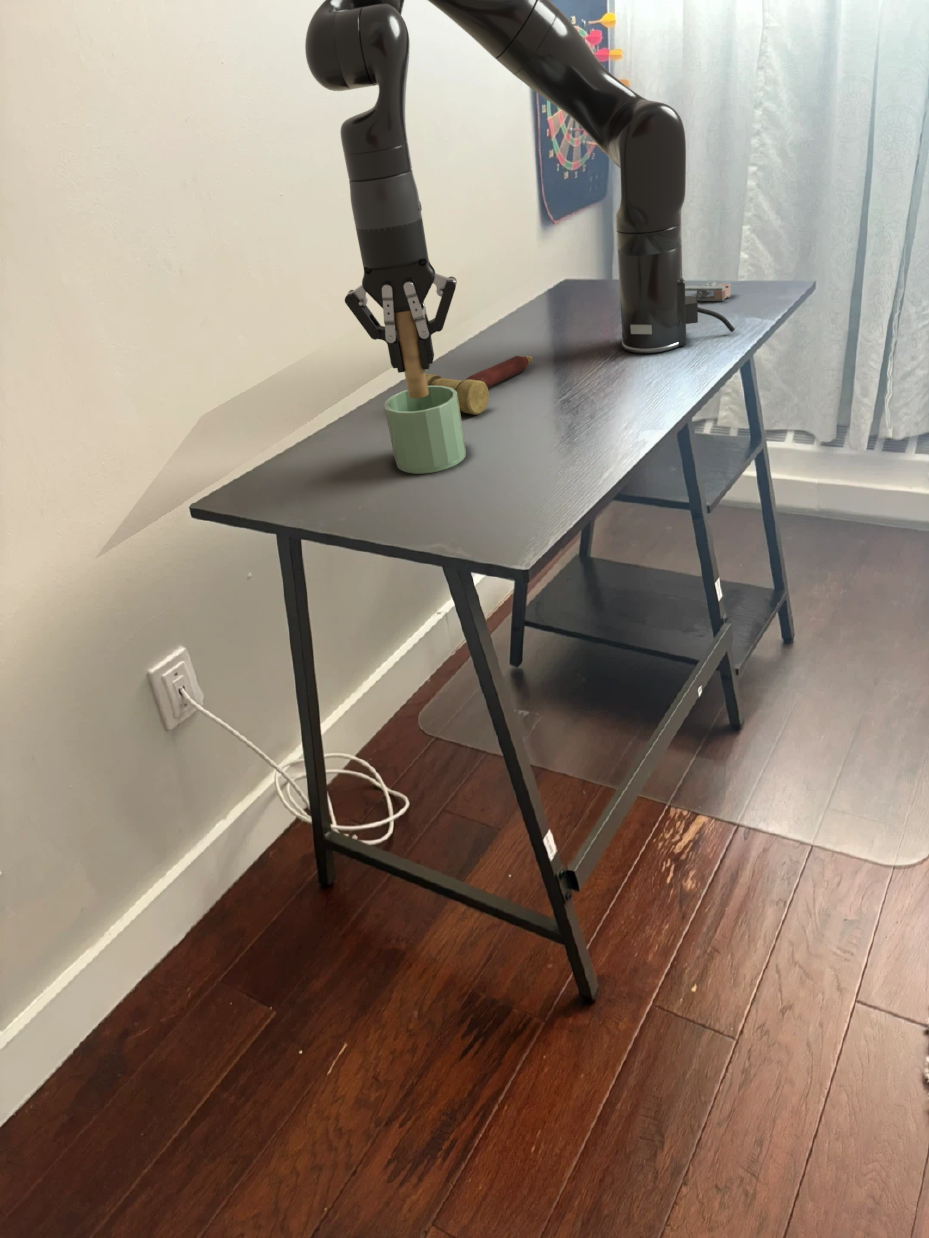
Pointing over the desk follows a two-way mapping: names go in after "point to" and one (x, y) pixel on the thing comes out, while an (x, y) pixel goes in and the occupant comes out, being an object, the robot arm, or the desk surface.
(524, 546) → the desk surface
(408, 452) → the cup
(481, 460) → the desk surface
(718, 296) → the clamp
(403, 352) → the stick
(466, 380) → the gavel
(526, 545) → the desk surface
